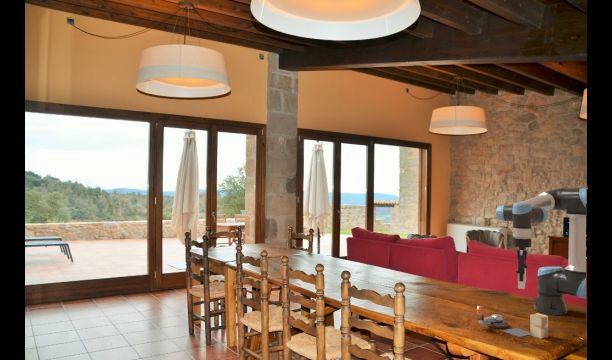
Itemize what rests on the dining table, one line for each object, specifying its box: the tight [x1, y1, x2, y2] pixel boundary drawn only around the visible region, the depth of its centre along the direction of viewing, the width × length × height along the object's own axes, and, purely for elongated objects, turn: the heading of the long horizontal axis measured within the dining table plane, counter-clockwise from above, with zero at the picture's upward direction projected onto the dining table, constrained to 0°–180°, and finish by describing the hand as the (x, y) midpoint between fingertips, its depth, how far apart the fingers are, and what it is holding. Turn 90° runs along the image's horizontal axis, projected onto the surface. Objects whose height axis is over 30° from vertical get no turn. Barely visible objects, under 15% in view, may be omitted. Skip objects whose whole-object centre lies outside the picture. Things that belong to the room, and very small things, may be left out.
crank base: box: [486, 319, 509, 330], centre depth 209 cm, size 9×9×2 cm
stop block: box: [529, 312, 549, 339], centre depth 195 cm, size 5×5×9 cm
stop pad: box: [502, 327, 531, 338], centre depth 199 cm, size 9×9×1 cm
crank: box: [476, 305, 504, 325], centre depth 207 cm, size 15×5×8 cm, turn 117°
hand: (522, 285), depth 197 cm, fingers open, 13 cm apart
